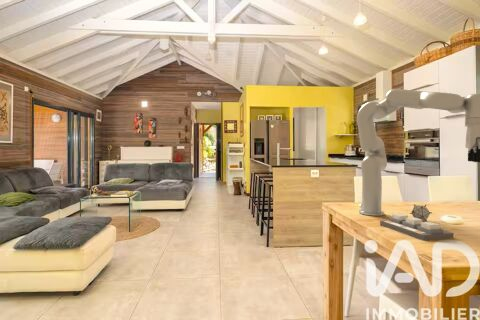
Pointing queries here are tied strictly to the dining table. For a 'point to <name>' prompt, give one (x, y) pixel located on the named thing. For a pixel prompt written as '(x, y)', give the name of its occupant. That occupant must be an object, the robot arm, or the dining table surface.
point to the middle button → (414, 220)
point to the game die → (420, 212)
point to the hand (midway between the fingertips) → (474, 161)
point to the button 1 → (399, 216)
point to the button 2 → (429, 225)
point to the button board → (416, 230)
